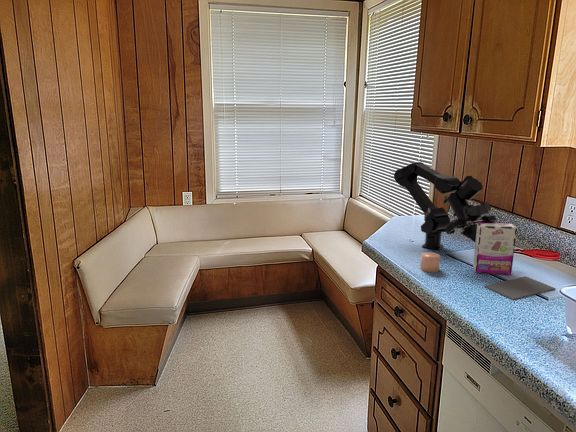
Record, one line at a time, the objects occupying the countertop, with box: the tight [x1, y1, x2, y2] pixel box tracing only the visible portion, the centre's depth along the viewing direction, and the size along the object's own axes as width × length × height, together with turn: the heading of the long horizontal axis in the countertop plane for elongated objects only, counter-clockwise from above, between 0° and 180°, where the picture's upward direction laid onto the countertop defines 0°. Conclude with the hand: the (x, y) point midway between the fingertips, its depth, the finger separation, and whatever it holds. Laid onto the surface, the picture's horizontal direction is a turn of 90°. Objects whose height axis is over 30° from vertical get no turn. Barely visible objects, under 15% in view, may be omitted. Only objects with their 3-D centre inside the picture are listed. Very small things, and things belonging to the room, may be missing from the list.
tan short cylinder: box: [420, 251, 441, 273], centre depth 142 cm, size 6×6×5 cm
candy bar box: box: [472, 222, 518, 276], centre depth 138 cm, size 11×5×16 cm, turn 79°
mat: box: [483, 275, 556, 301], centre depth 127 cm, size 10×18×1 cm, turn 113°
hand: (482, 245), depth 142 cm, fingers closed
